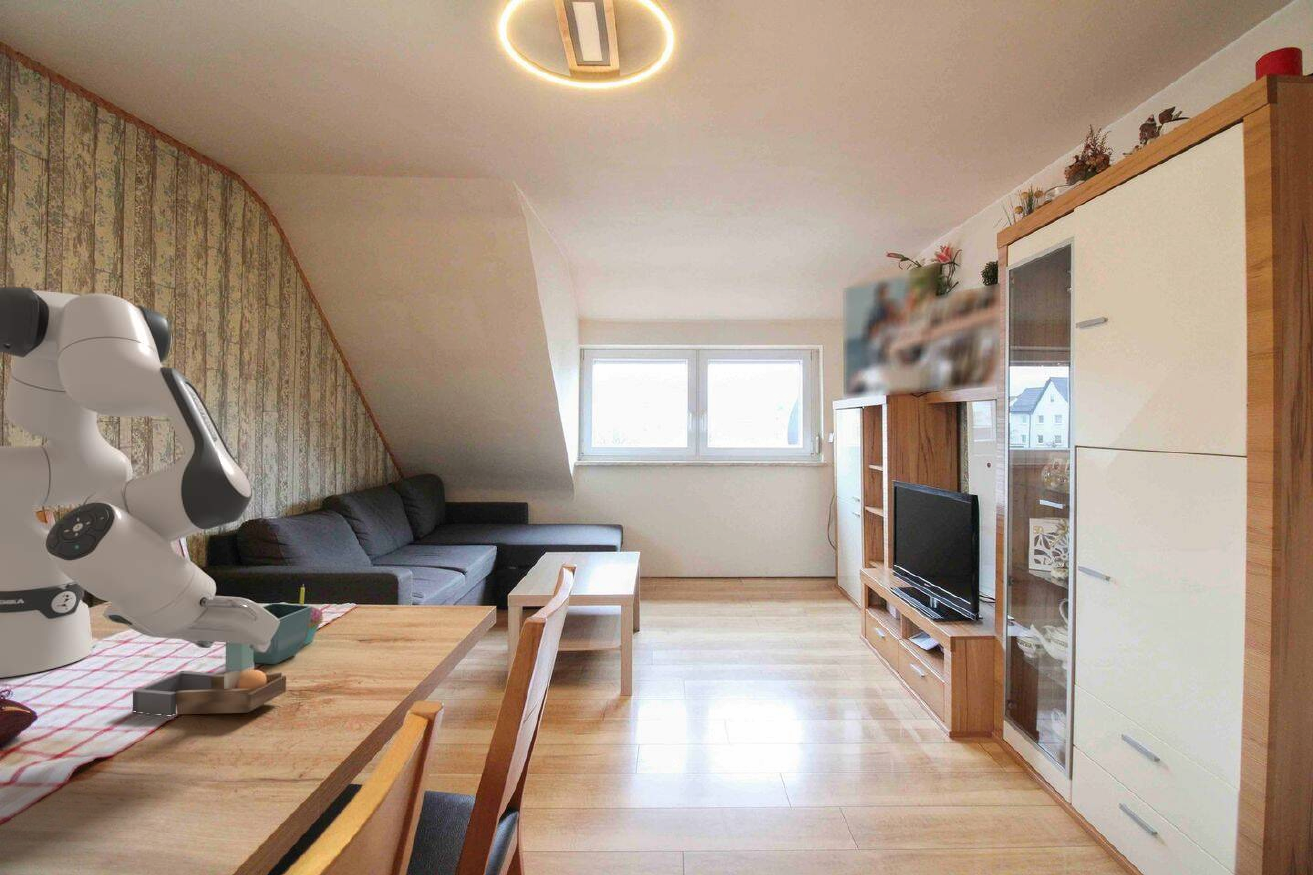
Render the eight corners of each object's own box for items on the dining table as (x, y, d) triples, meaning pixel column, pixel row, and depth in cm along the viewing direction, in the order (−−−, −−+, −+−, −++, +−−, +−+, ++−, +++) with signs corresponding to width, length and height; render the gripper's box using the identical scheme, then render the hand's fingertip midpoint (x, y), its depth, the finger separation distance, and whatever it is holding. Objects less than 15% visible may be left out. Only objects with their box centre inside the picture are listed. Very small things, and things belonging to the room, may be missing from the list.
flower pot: (275, 670, 102) (276, 619, 102) (232, 666, 103) (232, 616, 103) (313, 652, 110) (313, 605, 110) (272, 649, 112) (273, 602, 112)
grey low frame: (132, 712, 86) (132, 691, 86) (182, 690, 93) (182, 670, 93) (170, 716, 85) (170, 694, 85) (217, 693, 92) (217, 673, 92)
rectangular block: (218, 698, 85) (218, 625, 85) (243, 686, 90) (244, 616, 90) (234, 700, 85) (235, 626, 85) (259, 687, 89) (260, 617, 89)
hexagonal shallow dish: (175, 713, 85) (175, 683, 85) (214, 694, 92) (214, 666, 92) (250, 721, 83) (251, 690, 83) (285, 701, 90) (286, 672, 90)
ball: (233, 701, 85) (229, 676, 86) (253, 690, 89) (250, 667, 89) (254, 698, 85) (250, 674, 85) (274, 688, 88) (270, 665, 89)
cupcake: (331, 640, 116) (331, 581, 116) (285, 653, 109) (285, 590, 109) (310, 632, 121) (310, 575, 121) (264, 644, 114) (264, 584, 114)
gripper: (255, 581, 78) (309, 629, 87) (127, 573, 81) (193, 621, 91) (225, 624, 73) (285, 671, 83) (91, 615, 76) (164, 661, 86)
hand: (236, 645), depth 87 cm, fingers open, 8 cm apart
